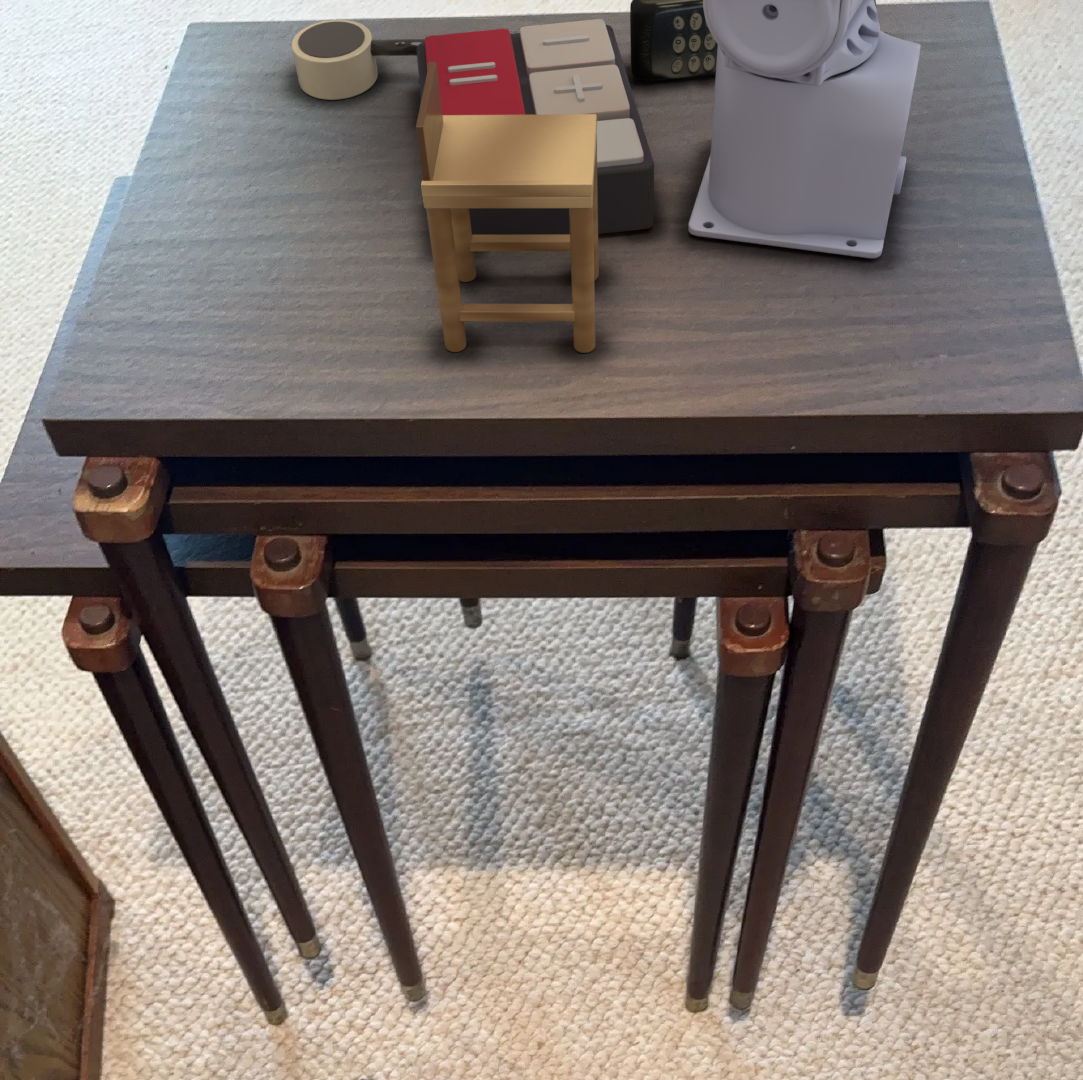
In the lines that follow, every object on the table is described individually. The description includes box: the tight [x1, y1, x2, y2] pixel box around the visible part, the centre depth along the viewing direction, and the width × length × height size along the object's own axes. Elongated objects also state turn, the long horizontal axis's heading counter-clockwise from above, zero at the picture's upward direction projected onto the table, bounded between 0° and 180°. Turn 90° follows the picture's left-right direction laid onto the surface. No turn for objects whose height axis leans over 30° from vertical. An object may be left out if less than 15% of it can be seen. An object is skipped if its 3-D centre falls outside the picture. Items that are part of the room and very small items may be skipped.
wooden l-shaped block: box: [415, 62, 597, 210], centre depth 54 cm, size 7×6×4 cm
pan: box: [291, 19, 425, 101], centre depth 74 cm, size 8×5×2 cm, turn 87°
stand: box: [425, 134, 600, 354], centre depth 58 cm, size 7×6×8 cm
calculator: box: [416, 18, 655, 235], centre depth 67 cm, size 11×4×15 cm
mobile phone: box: [629, 0, 888, 82], centre depth 72 cm, size 5×3×15 cm
